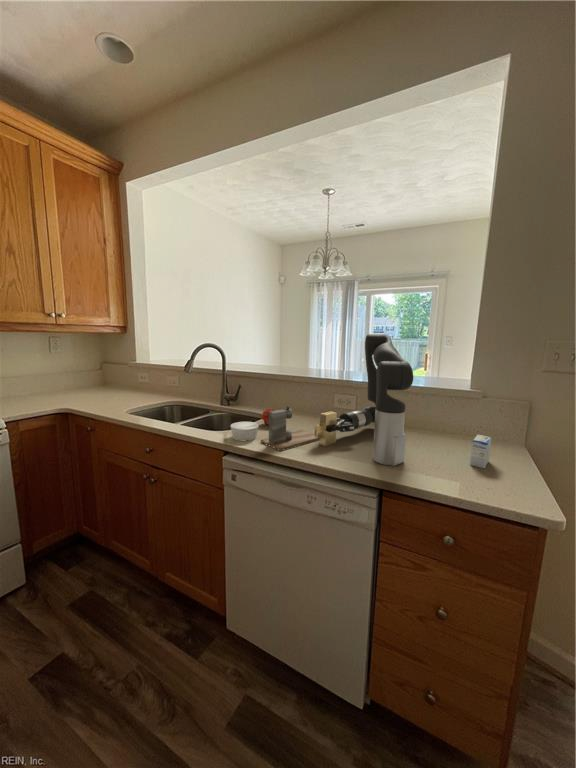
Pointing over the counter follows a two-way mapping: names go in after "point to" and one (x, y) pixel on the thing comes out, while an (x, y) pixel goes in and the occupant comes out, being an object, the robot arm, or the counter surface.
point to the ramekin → (244, 430)
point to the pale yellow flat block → (321, 429)
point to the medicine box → (480, 451)
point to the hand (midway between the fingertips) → (324, 428)
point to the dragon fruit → (266, 415)
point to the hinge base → (295, 440)
